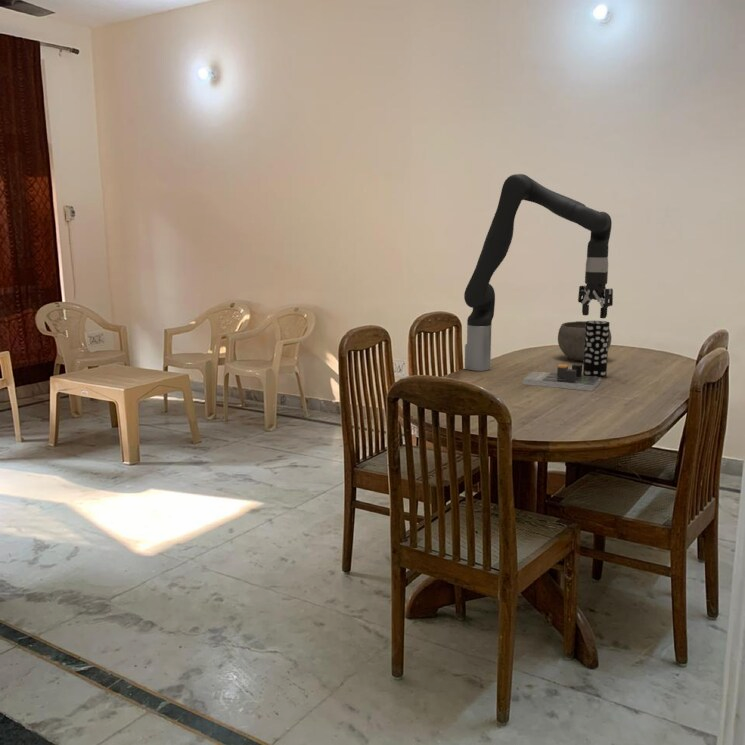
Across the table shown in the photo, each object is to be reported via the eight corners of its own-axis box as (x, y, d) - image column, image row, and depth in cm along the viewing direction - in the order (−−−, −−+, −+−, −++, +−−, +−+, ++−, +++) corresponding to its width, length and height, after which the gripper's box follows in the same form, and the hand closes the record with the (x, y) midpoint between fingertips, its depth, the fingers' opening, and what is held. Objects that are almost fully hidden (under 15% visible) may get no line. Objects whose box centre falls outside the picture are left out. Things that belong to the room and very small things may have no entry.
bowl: (550, 361, 311) (551, 324, 308) (566, 353, 329) (568, 318, 325) (601, 366, 301) (604, 328, 297) (615, 357, 318) (618, 322, 315)
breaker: (557, 377, 270) (557, 365, 270) (559, 375, 273) (559, 364, 272) (565, 377, 269) (566, 366, 268) (567, 376, 272) (568, 365, 271)
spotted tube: (607, 378, 279) (610, 324, 275) (583, 377, 281) (586, 323, 277) (605, 373, 287) (608, 320, 283) (582, 373, 289) (585, 320, 285)
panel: (523, 384, 271) (523, 367, 269) (533, 376, 283) (534, 360, 282) (592, 390, 260) (593, 373, 259) (600, 382, 273) (601, 365, 271)
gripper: (574, 269, 271) (571, 315, 274) (603, 272, 258) (601, 320, 262) (590, 268, 274) (587, 313, 278) (620, 271, 262) (617, 318, 265)
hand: (594, 316), depth 270 cm, fingers open, 8 cm apart
